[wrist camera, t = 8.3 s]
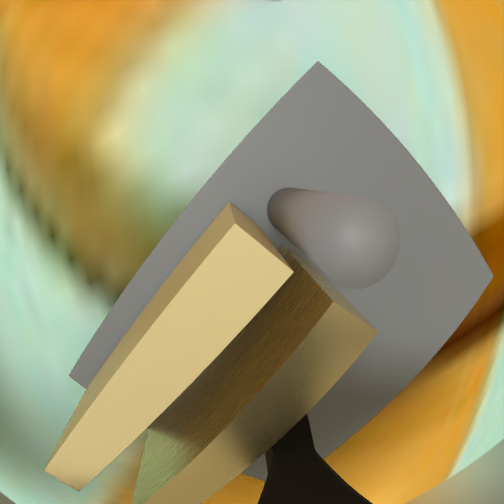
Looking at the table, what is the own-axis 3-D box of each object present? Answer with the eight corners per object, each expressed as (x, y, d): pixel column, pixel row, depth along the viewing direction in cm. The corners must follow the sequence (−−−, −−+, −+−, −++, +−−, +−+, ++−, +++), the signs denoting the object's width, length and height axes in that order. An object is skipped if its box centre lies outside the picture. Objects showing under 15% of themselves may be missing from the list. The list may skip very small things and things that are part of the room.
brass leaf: (281, 243, 10) (333, 301, 5) (311, 264, 10) (378, 331, 5) (150, 423, 11) (129, 515, 6) (175, 435, 11) (164, 527, 7)
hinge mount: (279, 473, 14) (299, 567, 8) (77, 363, 11) (12, 466, 5) (480, 270, 12) (577, 317, 6) (310, 70, 10) (396, -23, 3)
